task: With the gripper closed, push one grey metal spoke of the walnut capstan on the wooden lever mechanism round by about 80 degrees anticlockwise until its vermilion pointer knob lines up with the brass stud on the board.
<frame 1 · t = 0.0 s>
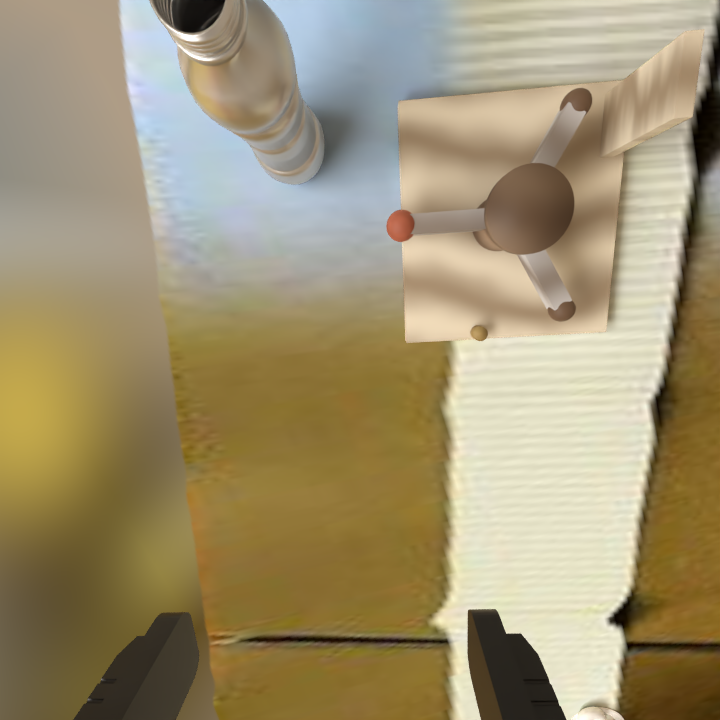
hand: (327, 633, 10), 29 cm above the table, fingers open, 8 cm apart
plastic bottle: (295, 154, 34), on the table
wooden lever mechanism: (502, 225, 34), on the table
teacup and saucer: (608, 709, 49), on the table
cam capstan: (483, 219, 29), point 5 cm above the table, hinge at 0.0°
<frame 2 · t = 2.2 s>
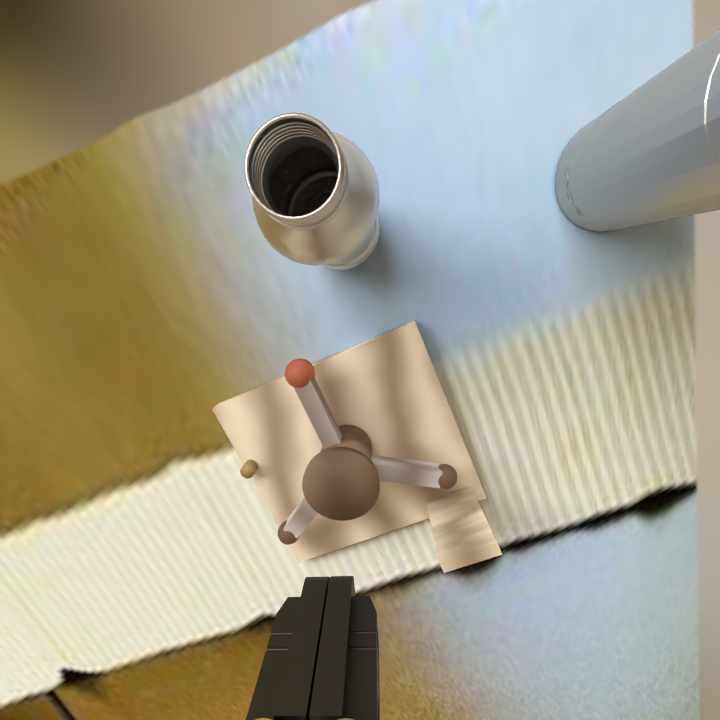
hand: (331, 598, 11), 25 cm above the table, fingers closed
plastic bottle: (343, 234, 32), on the table
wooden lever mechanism: (352, 447, 37), on the table
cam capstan: (333, 442, 31), point 5 cm above the table, hinge at 0.0°
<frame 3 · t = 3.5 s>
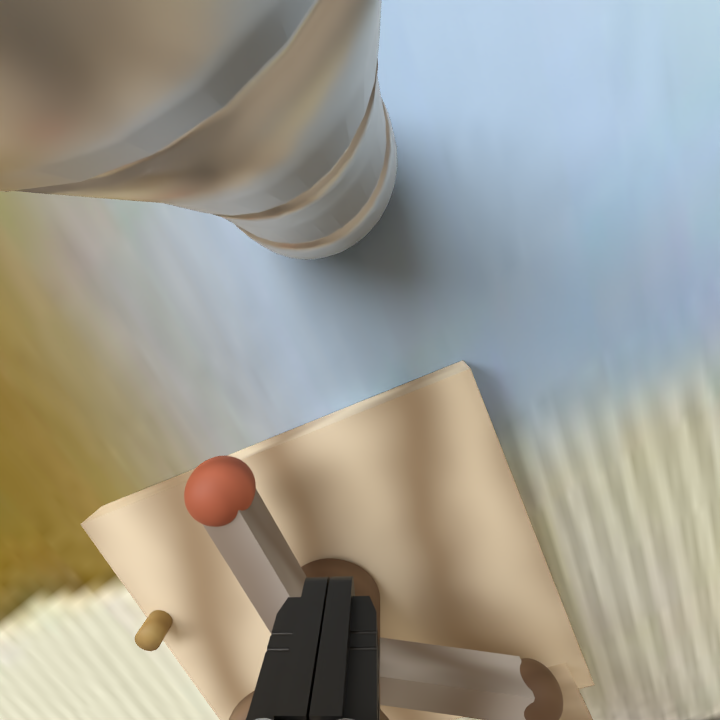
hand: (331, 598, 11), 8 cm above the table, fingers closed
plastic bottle: (319, 187, 16), on the table
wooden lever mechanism: (344, 582, 20), on the table
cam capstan: (298, 625, 15), point 5 cm above the table, hinge at 0.0°
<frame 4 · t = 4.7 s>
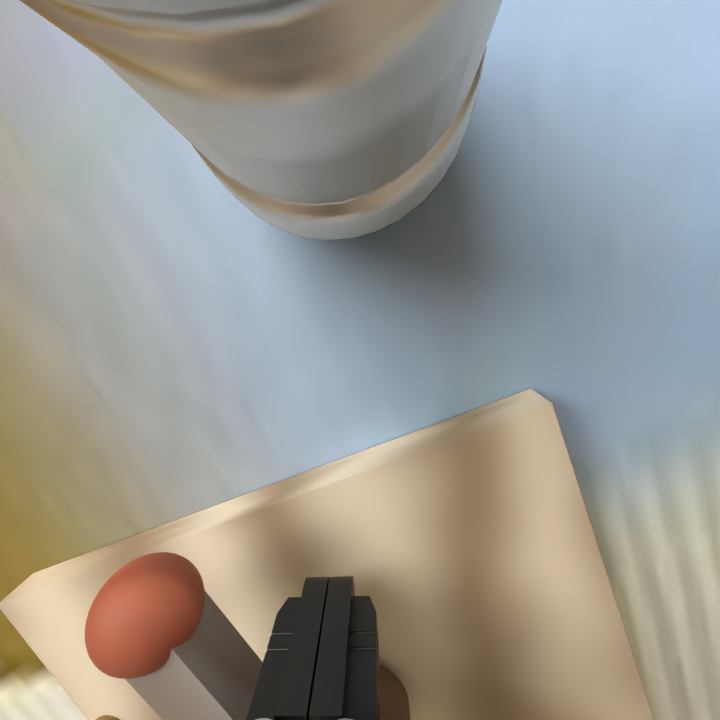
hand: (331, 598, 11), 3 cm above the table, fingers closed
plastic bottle: (341, 141, 11), on the table
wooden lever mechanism: (357, 672, 16), on the table
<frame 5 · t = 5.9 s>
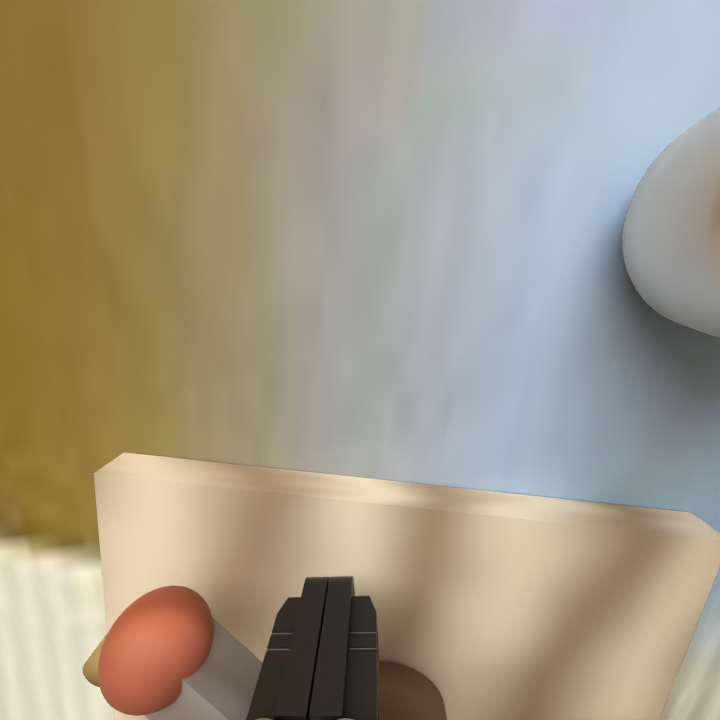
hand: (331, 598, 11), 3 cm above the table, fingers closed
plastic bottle: (689, 231, 11), on the table
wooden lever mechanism: (377, 679, 16), on the table
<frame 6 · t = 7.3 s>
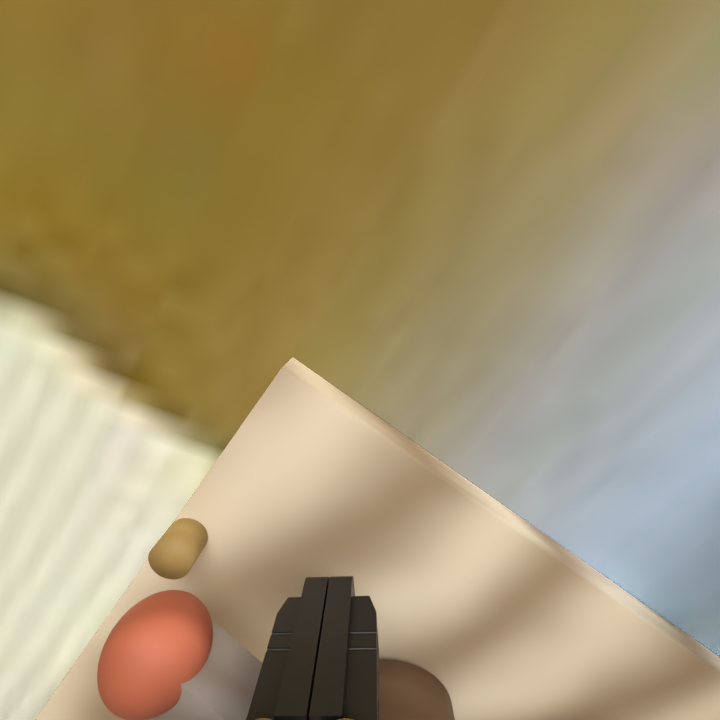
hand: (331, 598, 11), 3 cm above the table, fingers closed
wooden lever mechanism: (372, 673, 16), on the table
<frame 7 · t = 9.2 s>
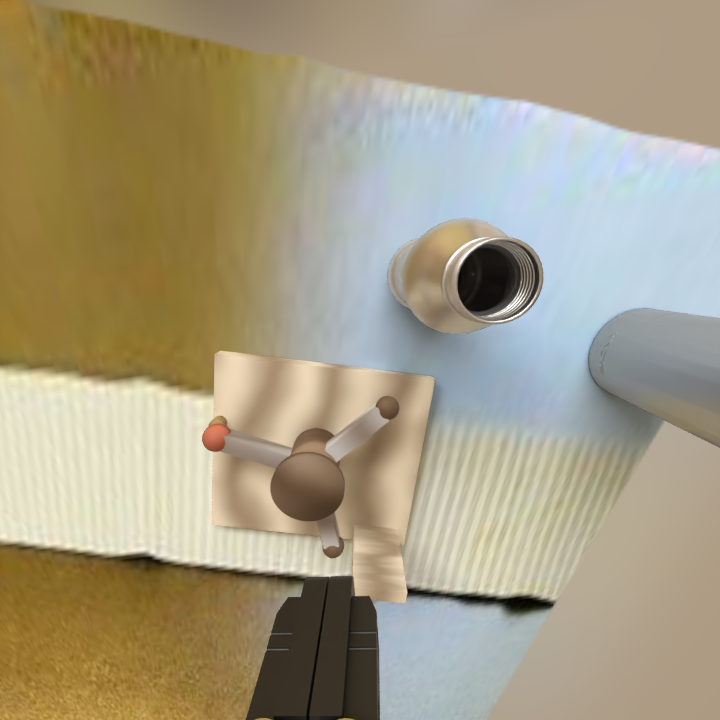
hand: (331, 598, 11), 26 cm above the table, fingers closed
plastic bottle: (419, 274, 34), on the table
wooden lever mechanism: (318, 449, 38), on the table
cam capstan: (287, 460, 33), point 5 cm above the table, hinge at 78.0°
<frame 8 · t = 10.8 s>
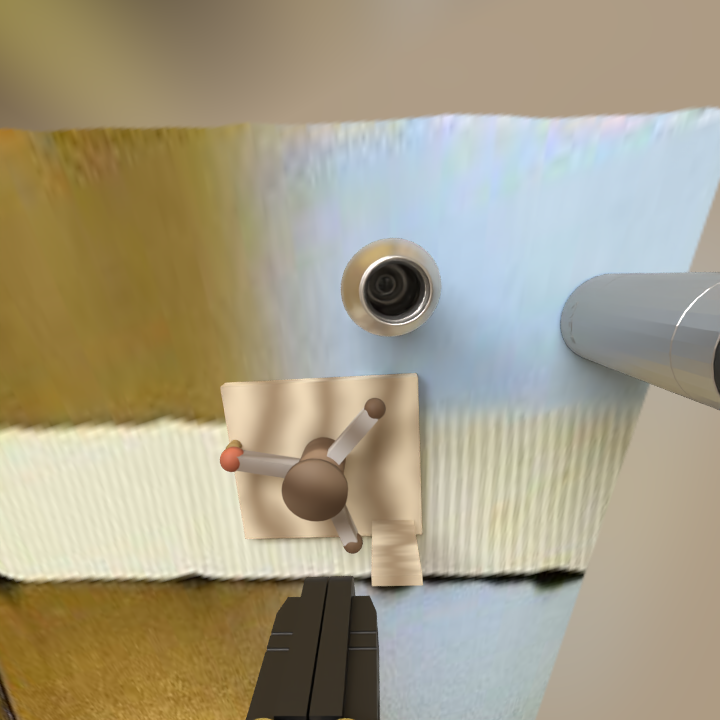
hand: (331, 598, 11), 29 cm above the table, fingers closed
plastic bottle: (385, 284, 37), on the table
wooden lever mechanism: (327, 457, 42), on the table
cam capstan: (296, 469, 37), point 5 cm above the table, hinge at 78.0°
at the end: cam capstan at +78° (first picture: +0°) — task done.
